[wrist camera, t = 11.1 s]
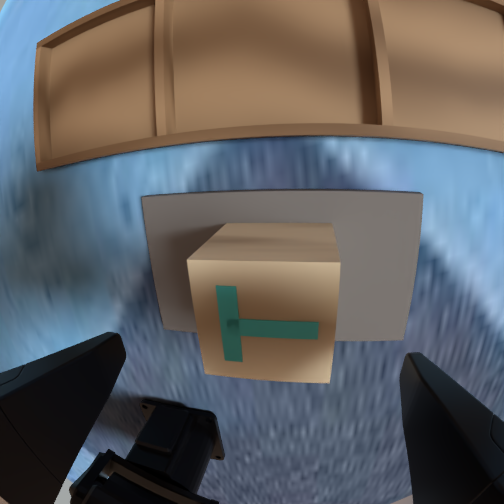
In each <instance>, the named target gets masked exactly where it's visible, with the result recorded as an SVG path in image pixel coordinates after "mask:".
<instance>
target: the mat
mask: <svg viewBox="0 0 504 504" xmlns="http://www.w3.org/2000/svg"><path fill="white" fill-rule="evenodd" d="M142 205H143V213H144V221H145V228H146V235H147V241H148V248H149V254H150V260H151V266H152V272H153V277H154V283H155V288H156V293H157V298H158V303H159V308H160V313H161V318H162V322H163V327H164V329H168V330H176V331H184V332H194V333H198V331H197V325H196V319H195V313H194V307H193V300H192V294H191V287H190V280H189V273H188V265H187V259H188V258H189V257H190V256H191V255H192V254H193V253H194V252H196V251H197V250H198V249H199V248H200V247H201V246H202V245H203V244H204V243H205V242H206V241H208V240H209V239H210V238H211V237H212V236H213V235H214V234H215V233H216V232H218V231H219V230H220V229H221V228H222V227H223V226H224V225H225V224H226V223H332V224H333V229H334V233H335V238H336V243H337V247H338V252H339V257H340V262H341V265H340V283H339V297H338V310H337V321H336V332H335V341H392V340H403V338H404V333H405V329H406V324H407V319H408V314H409V309H410V304H411V299H412V293H413V287H414V281H415V274H416V267H417V260H418V252H419V243H420V233H421V222H422V209H423V194H422V193H420V192H406V191H383V190H350V189H266V190H231V191H208V192H189V193H173V194H159V195H147V196H144V197H142Z"/></svg>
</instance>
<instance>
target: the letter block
mask: <svg viewBox="0 0 504 504" xmlns="http://www.w3.org/2000/svg"><path fill="white" fill-rule="evenodd" d="M187 265H188V273H189V280H190V287H191V294H192V300H193V307H194V313H195V319H196V325H197V331H198V337H199V343H200V349H201V354H202V360H203V365H204V370H205V374H211V375H219V376H227V377H236V378H246V379H257V380H270V381H285V382H306V383H330V376H331V368H332V360H333V351H334V342H335V332H336V321H337V310H338V297H339V283H340V265H341V262H340V257H339V252H338V247H337V243H336V238H335V233H334V229H333V224H332V223H226V224H225V225H224V226H223V227H222V228H221V229H220V230H219V231H218V232H216V233H215V234H214V235H213V236H212V237H211V238H210V239H209V240H208V241H206V242H205V243H204V244H203V245H202V246H201V247H200V248H199V249H198V250H197V251H196V252H194V253H193V254H192V255H191V256H190V257H189V258H188V259H187Z"/></svg>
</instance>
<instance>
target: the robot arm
mask: <svg viewBox="0 0 504 504" xmlns="http://www.w3.org/2000/svg"><path fill="white" fill-rule="evenodd" d="M125 360H126V351H125V348H124V345H123V342H122V338H121V336H120V335H119V334H118V333H114V332H106V333H104V334H101V335H99V336H96V337H94V338H91V339H89V340H86V341H84V342H81V343H79V344H76V345H73V346H71V347H68V348H66V349H63V350H61V351H58V352H56V353H53V354H50V355H48V356H45V357H43V358H40V359H37V360H35V361H32V362H30V363H27V364H26V365H22V366H19V367H16V368H13V369H11V370H8V371H5V372H2V373H0V504H54V502H55V500H56V498H57V496H58V494H59V492H60V489H61V487H62V484H63V483H64V481H65V479H66V477H67V475H68V473H69V471H70V469H71V467H72V465H73V463H74V461H75V459H76V457H77V455H78V453H79V451H80V449H81V447H82V446H83V444H84V442H85V440H86V438H87V436H88V434H89V432H90V430H91V429H92V427H93V425H94V423H95V421H96V419H97V418H98V416H99V414H100V412H101V410H102V408H103V407H104V405H105V403H106V401H107V399H108V398H109V396H110V394H111V392H112V389H113V387H114V385H115V383H116V380H117V378H118V376H119V373H120V371H121V369H122V366H123V364H124V362H125ZM400 392H401V406H402V421H403V429H404V435H405V441H406V448H407V454H408V461H409V469H410V476H411V485H412V494H413V504H504V421H502V420H501V419H500V418H499V417H498V416H497V415H495V414H494V415H493V412H492V411H491V410H489V409H488V408H487V407H486V406H485V405H483V404H482V403H481V402H480V401H479V400H478V399H476V398H475V397H474V396H473V395H472V394H470V393H469V392H468V391H467V390H466V389H464V388H463V387H462V386H461V385H459V384H458V383H457V382H456V381H455V380H453V379H452V378H451V377H450V376H449V375H447V374H446V373H445V372H444V371H442V370H441V369H440V368H439V367H438V366H436V365H435V364H434V363H433V362H431V361H430V360H429V359H428V358H426V357H425V356H424V355H423V354H421V353H420V352H413V353H407V354H406V356H405V359H404V362H403V366H402V369H401V373H400ZM140 407H141V410H142V412H143V414H144V417H145V419H146V421H147V422H146V423H145V425H144V427H143V428H142V430H141V432H140V433H139V435H138V437H137V438H136V440H135V444H134V445H133V447H132V449H131V450H130V452H129V454H128V455H127V457H126V459H123V458H121V457H120V456H118V455H116V454H115V452H113V451H112V450H110V449H108V450H107V452H106V453H101V452H99V454H98V455H97V457H96V458H95V460H94V461H93V463H92V464H91V465H90V467H89V468H88V469H87V470H86V471H85V472H84V473H83V474H82V475H81V476H80V477H79V478H78V479H77V480H76V481H75V482H74V483H73V484H72V485H71V486H70V488H69V491H70V495H71V500H70V504H219V502H218V501H215V500H213V499H211V500H210V499H207V498H205V497H202V496H199V495H197V492H198V489H199V487H200V484H201V481H202V479H203V476H204V474H205V471H206V468H207V466H208V463H209V460H210V459H216V460H223V459H224V457H225V453H224V449H223V444H222V440H221V435H220V431H219V426H218V422H217V418H216V416H215V415H214V414H212V413H208V412H202V411H196V410H191V409H185V408H180V407H175V406H171V405H166V404H162V403H157V402H153V401H149V400H142V401H141V403H140ZM108 476H109V478H108ZM107 478H108V479H107Z"/></svg>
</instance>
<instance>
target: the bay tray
mask: <svg viewBox="0 0 504 504" xmlns="http://www.w3.org/2000/svg"><path fill="white" fill-rule="evenodd" d="M33 112H34V142H35V157H36V168H37V171H42V170H46V169H52V168H56V167H60V166H64V165H68V164H73V163H77V162H81V161H86V160H91V159H96V158H101V157H106V156H111V155H116V154H122V153H127V152H133V151H139V150H146V149H152V148H159V147H167V146H174V145H182V144H191V143H200V142H210V141H221V140H233V139H248V138H266V137H295V136H343V137H372V138H389V139H403V140H415V141H425V142H435V143H443V144H451V145H459V146H466V147H472V148H478V149H484V150H490V151H496V152H501V153H504V0H120V1H117V2H115V3H112V4H110V5H108V6H106V7H103V8H101V9H99V10H97V11H95V12H92V13H90V14H88V15H86V16H84V17H82V18H80V19H78V20H76V21H74V22H72V23H71V24H69V25H67V26H65V27H63V28H61V29H60V30H58V31H56V32H54V33H53V34H51V35H49V36H48V37H46V38H44V39H43V40H41V41H40V42H38V43H37V48H36V59H35V72H34V102H33Z"/></svg>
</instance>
